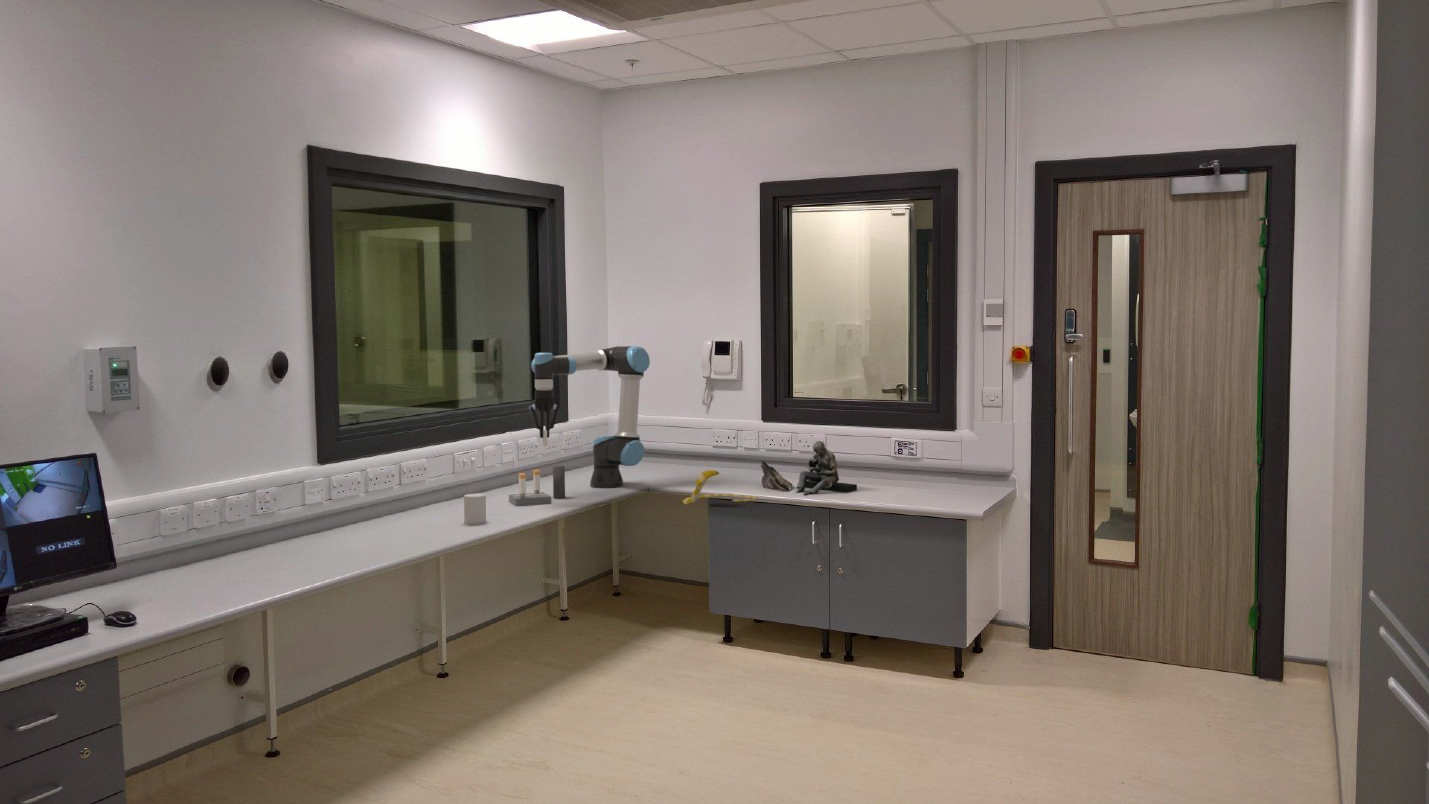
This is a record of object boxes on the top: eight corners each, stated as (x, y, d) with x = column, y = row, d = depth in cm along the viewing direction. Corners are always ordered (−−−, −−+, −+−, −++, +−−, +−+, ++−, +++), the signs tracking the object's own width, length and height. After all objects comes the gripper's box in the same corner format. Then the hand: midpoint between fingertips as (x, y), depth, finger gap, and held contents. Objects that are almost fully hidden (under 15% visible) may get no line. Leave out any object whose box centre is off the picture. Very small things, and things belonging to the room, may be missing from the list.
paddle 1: (523, 495, 421) (523, 473, 421) (526, 497, 417) (525, 474, 417) (518, 496, 421) (518, 473, 420) (521, 497, 417) (520, 474, 416)
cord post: (563, 497, 438) (562, 465, 437) (566, 499, 433) (565, 466, 432) (552, 498, 436) (551, 466, 435) (555, 499, 431) (554, 467, 430)
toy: (730, 510, 401) (730, 473, 400) (672, 505, 414) (671, 469, 414) (763, 500, 427) (762, 465, 426) (706, 496, 440) (706, 462, 439)
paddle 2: (538, 491, 432) (537, 469, 431) (540, 493, 428) (540, 471, 427) (533, 492, 431) (532, 470, 430) (535, 493, 427) (535, 471, 426)
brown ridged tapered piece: (751, 455, 443) (764, 460, 470) (738, 471, 444) (753, 476, 470) (790, 484, 437) (802, 489, 463) (778, 501, 437) (790, 505, 464)
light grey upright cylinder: (466, 524, 391) (465, 493, 390) (487, 524, 391) (487, 493, 391) (462, 528, 383) (462, 497, 382) (484, 527, 383) (484, 496, 383)
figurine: (777, 495, 439) (777, 441, 437) (811, 489, 456) (811, 437, 455) (823, 501, 422) (823, 444, 420) (857, 494, 439) (857, 440, 438)
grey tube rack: (543, 499, 433) (543, 491, 433) (551, 503, 421) (551, 495, 421) (509, 501, 427) (508, 493, 427) (515, 506, 415) (515, 498, 415)
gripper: (556, 388, 426) (557, 444, 428) (526, 389, 421) (527, 445, 422) (561, 389, 419) (562, 445, 421) (530, 390, 414) (531, 447, 415)
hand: (544, 445), depth 422 cm, fingers closed
